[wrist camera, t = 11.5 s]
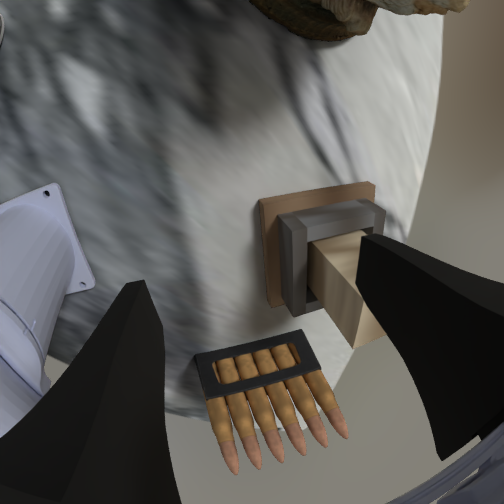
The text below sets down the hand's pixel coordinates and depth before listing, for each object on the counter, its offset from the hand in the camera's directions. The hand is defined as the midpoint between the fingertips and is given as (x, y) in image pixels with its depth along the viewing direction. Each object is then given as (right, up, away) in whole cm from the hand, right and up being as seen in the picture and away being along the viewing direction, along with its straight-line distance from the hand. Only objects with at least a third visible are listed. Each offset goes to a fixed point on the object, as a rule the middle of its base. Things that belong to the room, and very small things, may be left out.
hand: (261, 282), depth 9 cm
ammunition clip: (-1, -8, +18) cm, 20 cm away
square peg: (+5, +1, +12) cm, 14 cm away
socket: (+5, +2, +13) cm, 14 cm away
